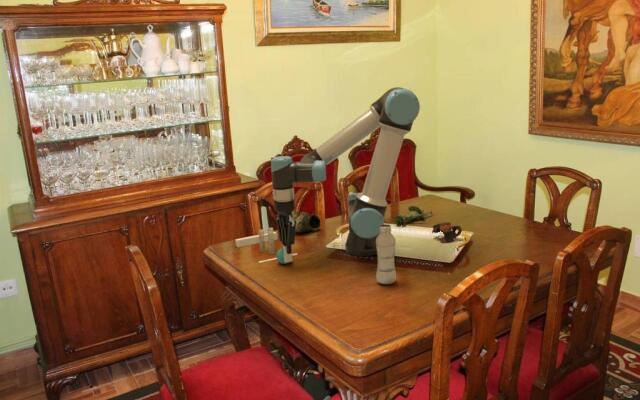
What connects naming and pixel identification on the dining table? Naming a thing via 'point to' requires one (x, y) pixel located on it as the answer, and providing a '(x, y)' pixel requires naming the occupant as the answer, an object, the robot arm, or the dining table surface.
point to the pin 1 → (262, 240)
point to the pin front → (271, 242)
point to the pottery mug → (447, 231)
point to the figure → (411, 215)
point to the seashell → (305, 222)
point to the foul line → (273, 259)
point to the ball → (281, 256)
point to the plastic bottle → (385, 255)
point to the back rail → (252, 240)
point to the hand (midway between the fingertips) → (288, 261)
